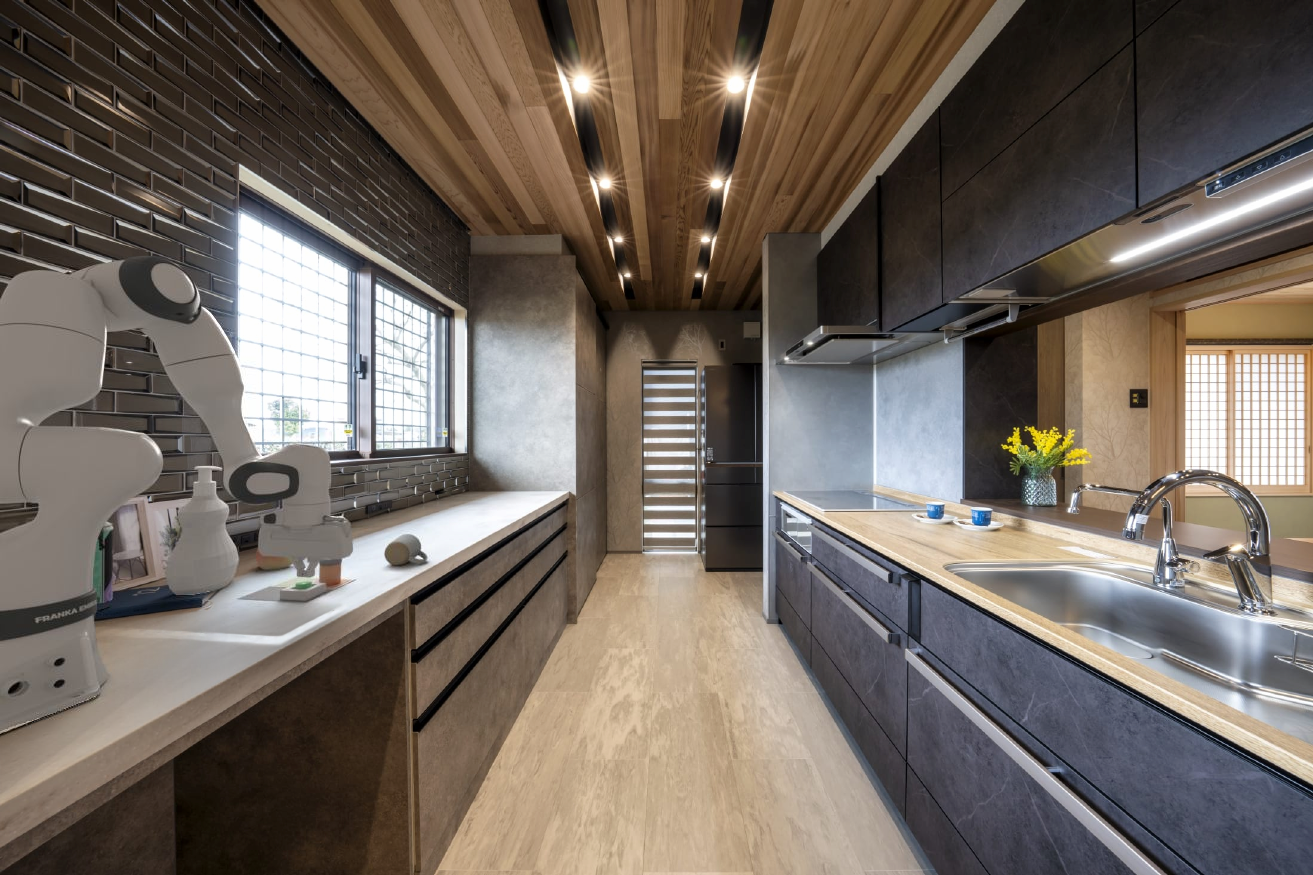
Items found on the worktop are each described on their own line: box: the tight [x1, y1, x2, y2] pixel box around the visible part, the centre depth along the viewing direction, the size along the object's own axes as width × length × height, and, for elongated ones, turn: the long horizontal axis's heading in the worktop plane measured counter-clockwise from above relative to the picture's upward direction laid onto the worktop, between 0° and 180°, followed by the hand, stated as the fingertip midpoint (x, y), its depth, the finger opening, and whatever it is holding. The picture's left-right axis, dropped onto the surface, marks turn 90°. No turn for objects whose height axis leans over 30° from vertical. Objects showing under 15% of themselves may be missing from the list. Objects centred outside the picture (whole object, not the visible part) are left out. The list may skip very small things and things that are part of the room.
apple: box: [255, 549, 293, 571], centre depth 131 cm, size 9×9×8 cm
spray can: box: [93, 521, 114, 604], centre depth 101 cm, size 6×6×20 cm
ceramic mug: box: [383, 533, 428, 566], centre depth 141 cm, size 11×8×8 cm
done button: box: [295, 581, 312, 589], centre depth 109 cm, size 3×3×2 cm
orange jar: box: [318, 559, 343, 586], centre depth 118 cm, size 5×5×6 cm
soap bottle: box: [164, 465, 240, 596], centre depth 113 cm, size 17×12×29 cm
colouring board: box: [237, 576, 356, 604], centre depth 114 cm, size 16×16×3 cm
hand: (305, 576), depth 109 cm, fingers closed
